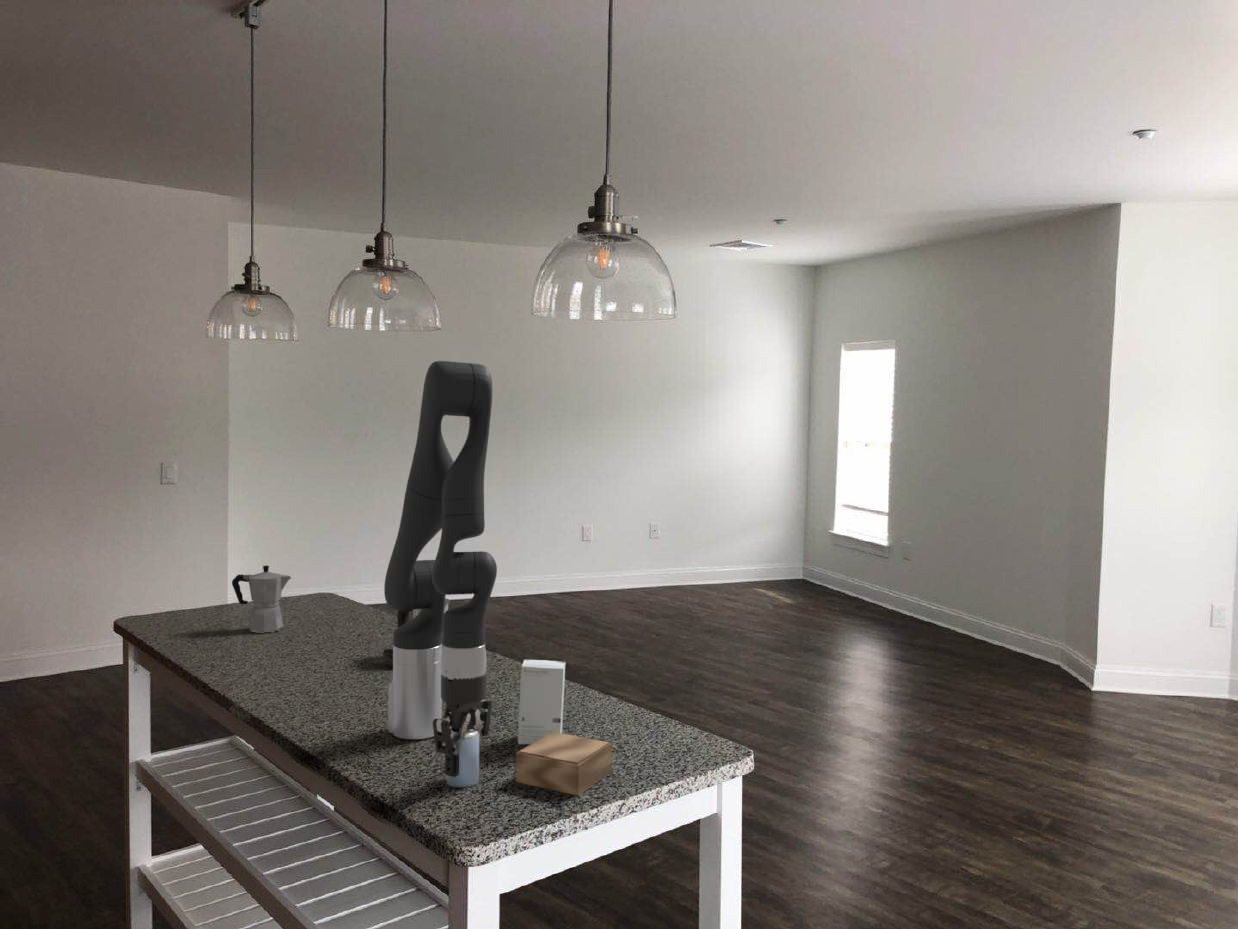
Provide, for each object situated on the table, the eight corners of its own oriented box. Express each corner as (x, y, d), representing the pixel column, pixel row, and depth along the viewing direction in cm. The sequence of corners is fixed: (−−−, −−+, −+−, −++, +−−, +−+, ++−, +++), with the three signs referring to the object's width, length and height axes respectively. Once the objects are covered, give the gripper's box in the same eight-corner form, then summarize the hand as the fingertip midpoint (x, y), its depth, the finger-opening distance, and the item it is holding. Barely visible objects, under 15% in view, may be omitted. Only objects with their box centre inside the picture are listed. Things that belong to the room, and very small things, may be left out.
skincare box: (517, 745, 183) (518, 666, 182) (520, 734, 189) (521, 658, 188) (562, 746, 183) (563, 667, 182) (564, 735, 189) (565, 659, 188)
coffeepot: (292, 625, 277) (292, 562, 276) (289, 633, 268) (289, 567, 267) (234, 627, 274) (234, 563, 273) (229, 635, 265) (229, 568, 264)
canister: (439, 783, 164) (440, 734, 164) (458, 773, 169) (459, 725, 168) (466, 789, 162) (467, 739, 161) (485, 778, 166) (485, 730, 166)
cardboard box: (515, 782, 165) (516, 751, 165) (551, 759, 176) (552, 731, 176) (578, 795, 160) (578, 764, 160) (611, 772, 171) (612, 742, 170)
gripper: (470, 658, 172) (469, 753, 173) (418, 677, 159) (417, 780, 160) (506, 663, 169) (505, 760, 170) (456, 684, 156) (455, 788, 157)
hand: (462, 769), depth 165 cm, fingers closed on canister, 5 cm apart
